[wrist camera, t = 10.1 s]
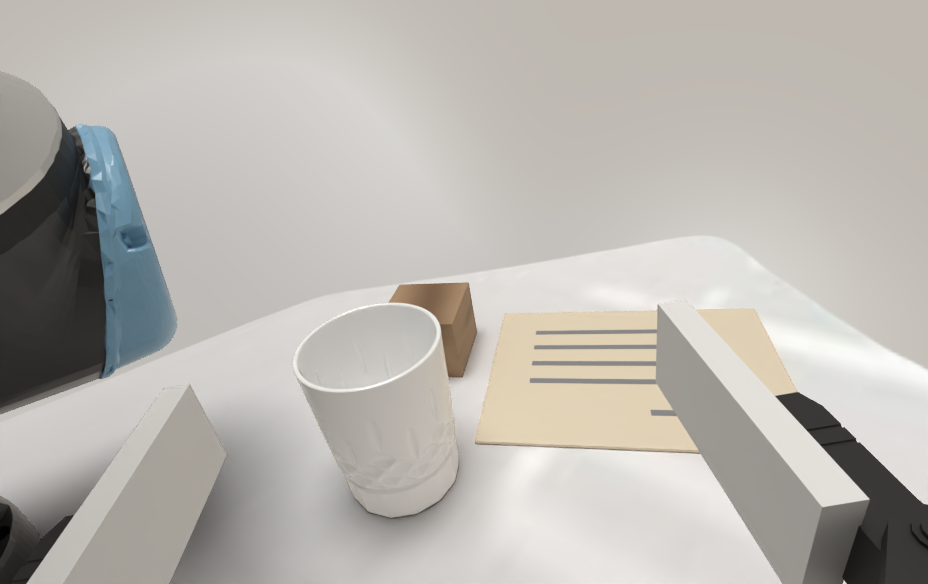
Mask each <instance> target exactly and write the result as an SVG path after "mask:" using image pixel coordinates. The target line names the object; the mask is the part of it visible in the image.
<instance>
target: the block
mask: <svg viewBox="0 0 928 584" xmlns="http://www.w3.org/2000/svg"><path fill="white" fill-rule="evenodd" d="M389 303H406V304H412V305H416V306H419V307H422V308H424V309H426V310H428V311H429V312H431V313H432V314H433V315H434V316H435V317H436V318H437V320H438V322H439V324H440V327H441V333H442V340H443V346H444V353H445V359H446V366H447V372H448V377H463V374H464V371H465V368H466V365H467V361H468V358H469V355H470V352H471V349H472V346H473V343H474V340H475V336H476V333H477V329H476V323H475V318H474V312H473V306H472V300H471V294H470V288H469V283H441V284H410V285H399V287H398V288H397V290H396V291H395V293H394V295H393V296H392V298H391V300H390V301H389Z"/></svg>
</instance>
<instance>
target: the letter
mask: <svg viewBox="0 0 928 584" xmlns="http://www.w3.org/2000/svg"><path fill="white" fill-rule="evenodd" d="M696 311H697V312H698V313H699V314H700V315H701V316H702V317H703V319H704V320H705V321H706V322H707V323H708V324H709V325H710V326H711V327H712V328H713V329H714V330H715V332H716V333H717V334H718V335H719V336H720V337H721V338H722V339H723V340H724V341H725V342H726V344H727V345H728V346H729V347H730V348H731V349H732V350H733V351H734V352H735V353H736V354H737V355H738V357H739V358H740V359H741V360H742V361H743V362H744V363H745V364H746V365H747V366H748V367H749V369H750V370H751V371H752V372H753V373H754V374H755V375H756V376H757V377H758V378H759V379H760V380H761V382H762V383H763V384H764V385H765V386H766V387H767V388H768V389H769V390H770V391H771V392H772V394H773V395H774V396H777V395H783V394H789V393H795V392H797V390H796V388H795V386H794V384H793V382H792V380H791V378H790V376H789V374H788V373H787V371H786V369H785V367H784V365H783V363H782V361H781V359H780V357H779V355H778V353H777V351H776V349H775V347H774V345H773V344H772V342H771V340H770V338H769V336H768V334H767V332H766V330H765V328H764V326H763V324H762V322H761V320H760V318H759V317H758V315H757V313H756V311H755V309H707V310H696ZM656 348H657V311H611V312H562V313H514V314H505V315H504V319H503V323H502V328H501V332H500V336H499V341H498V345H497V349H496V353H495V358H494V362H493V366H492V371H491V375H490V379H489V383H488V388H487V392H486V396H485V401H484V405H483V409H482V414H481V418H480V422H479V426H478V431H477V435H476V439H475V443H477V444H501V445H525V446H548V447H572V448H596V449H620V450H644V451H668V452H692V453H700V452H699V450H698V449H697V447H696V445H695V444H694V442H693V441H692V439H691V438H690V436H689V434H688V433H687V431H686V430H685V428H684V426H683V425H682V423H681V422H680V420H679V418H678V417H677V415H676V414H675V412H674V411H673V409H672V407H671V406H670V404H669V403H668V401H667V399H666V398H665V396H664V395H663V393H662V391H661V390H660V388H659V387H658V385H657V384H656Z"/></svg>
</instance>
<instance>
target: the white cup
mask: <svg viewBox="0 0 928 584" xmlns="http://www.w3.org/2000/svg"><path fill="white" fill-rule="evenodd" d="M292 366H293V371H294V374H295V376H296V378H297V380H298V382H299V384H300V387H301V389H302V391H303V393H304V395H305V397H306V399H307V402H308V404H309V406H310V408H311V410H312V412H313V415H314V417H315V419H316V421H317V423H318V426H319V428H320V430H321V432H322V434H323V436H324V438H325V440H326V442H327V444H328V446H329V448H330V449H331V451H332V454H333V456H334V458H335V461H336V462H337V464H338V466H339V468H340V469H341V471H342V472H343V474H344V475H345V478H346V480H347V482H348V484H349V487H350V489H351V491H352V493H353V495H354V497H355V498H356V499H357V500H358V501H359V503H360V504H361V505H362V506H363V507H364V508H365V509H366V510H367V511H368V512H371V513H374V514H378V515H382V516H386V517H389V518H394V517H400V516H406V515H412V514H417V513H419V512H421V511H423V510H424V509H426V508H428V507H430V506H431V505H433V504H435V503H436V502H438V501H440V500H441V499H442V497H443V496H444V495H445V493H446V492H447V491H448V490H449V488H450V487H451V486H452V484H453V483H454V482H455V479H456V474H457V469H458V464H459V456H458V450H457V444H456V438H455V421H454V414H453V409H452V398H451V391H450V384H449V378H448V372H447V366H446V359H445V353H444V346H443V340H442V333H441V327H440V324H439V322H438V320H437V318H436V317H435V316H434V315H433V314H432V313H431V312H429V311H428V310H426V309H424V308H422V307H419V306H416V305H412V304H406V303H380V304H373V305H368V306H363V307H359V308H356V309H353V310H350V311H347V312H345V313H342V314H340V315H337V316H335V317H333V318H331V319H330V320H328V321H326V322H324V323H323V324H321V325H320V326H318V327H317V328H316V329H314V330H313V331H312V332H311V333H310V334H308V335H307V336H306V337H305V338H304V340H303V341H302V342H301V343H300V345H299V346H298V348H297V349H296V351H295V354H294V357H293V362H292Z"/></svg>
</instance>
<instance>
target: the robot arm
mask: <svg viewBox="0 0 928 584" xmlns="http://www.w3.org/2000/svg"><path fill="white" fill-rule="evenodd" d="M176 328H177V316H176V313H175V309H174V306H173V303H172V300H171V297H170V294H169V291H168V288H167V285H166V282H165V279H164V276H163V274H162V270H161V267H160V264H159V261H158V259H157V255H156V253H155V250H154V247H153V244H152V241H151V238H150V235H149V232H148V229H147V226H146V223H145V220H144V217H143V214H142V211H141V209H140V206H139V203H138V200H137V197H136V194H135V191H134V188H133V185H132V182H131V179H130V176H129V173H128V170H127V167H126V164H125V161H124V158H123V156H122V153H121V150H120V148H119V145H118V142H117V139H116V136H115V134H114V133H113V132H112V131H111V130H110V129H108V128H106V127H102V126H87V125H82V124H80V125H76V126H75V127H73V128H71V129H70V130H67V128H66V127H65V125H64V123H63V122H62V120H61V119H60V117H59V115H58V113H57V111H56V110H55V108H54V107H53V106H52V104H51V103H50V102H49V101H48V99H47V98H46V97H45V96H44V95H43V93H42V92H41V91H40V90H39V89H37V88H36V87H34V86H33V85H31V84H30V83H28V82H26V81H24V80H22V79H20V78H18V77H15V76H13V75H10V74H7V73H4V72H1V71H0V414H3V413H5V412H8V411H11V410H14V409H16V408H19V407H22V406H25V405H27V404H30V403H33V402H36V401H38V400H41V399H44V398H47V397H49V396H52V395H55V394H57V393H60V392H63V391H66V390H69V389H71V388H74V387H77V386H80V385H82V384H85V383H88V382H91V381H93V380H96V379H103V378H106V377H109V376H110V375H112V374H113V373H114V371H115V370H116V369H118V368H121V367H123V366H125V365H128V364H130V363H132V362H135V361H137V360H139V359H141V358H144V357H146V356H148V355H151V354H153V353H155V352H157V351H159V350H161V349H162V348H164V347H165V346H166V345H167V344H168V343H169V342H170V341H171V339H172V338H173V336H174V334H175V332H176ZM656 384H657V385H658V387H659V388H660V390H661V391H662V393H663V395H664V396H665V398H666V399H667V401H668V403H669V404H670V406H671V407H672V409H673V411H674V412H675V414H676V415H677V417H678V418H679V420H680V422H681V423H682V425H683V426H684V428H685V430H686V431H687V433H688V434H689V436H690V438H691V439H692V441H693V442H694V444H695V445H696V447H697V449H698V450H699V452H700V453H701V455H702V457H703V458H704V460H705V461H706V463H707V465H708V466H709V468H710V469H711V471H712V472H713V474H714V476H715V477H716V479H717V480H718V482H719V484H720V485H721V487H722V488H723V490H724V491H725V493H726V495H727V496H728V498H729V499H730V501H731V503H732V504H733V506H734V507H735V509H736V511H737V512H738V514H739V515H740V517H741V518H742V520H743V522H744V523H745V525H746V526H747V528H748V530H749V531H750V533H751V534H752V536H753V538H754V539H755V541H756V542H757V544H758V545H759V547H760V549H761V550H762V552H763V553H764V555H765V557H766V558H767V560H768V561H769V563H770V564H771V566H772V568H773V569H774V571H775V572H776V574H777V576H778V577H779V579H780V580H781V582H782V584H842V583H843V580H845V582H846V583H847V584H928V505H926V504H923V503H922V502H921V501H919V500H918V499H917V498H916V497H915V496H914V495H913V494H912V493H911V492H910V491H909V490H908V489H907V488H906V487H905V486H904V485H903V484H902V483H901V482H900V481H899V480H898V479H897V478H895V477H894V476H893V475H892V474H891V473H890V472H889V471H888V470H887V469H886V468H885V467H884V466H883V465H882V464H881V463H880V462H879V461H878V460H877V459H876V458H875V457H874V456H873V455H872V454H871V453H870V452H869V451H868V450H867V449H866V448H865V447H864V446H863V445H862V444H861V443H860V442H859V443H857V441H856V438H855V437H854V436H853V435H852V434H851V433H850V432H849V431H848V430H847V429H846V428H845V427H844V428H842V427H841V424H840V423H839V422H838V421H837V420H836V419H835V418H834V417H833V416H832V415H831V414H830V413H829V412H828V411H827V410H826V409H825V408H824V407H823V406H822V405H820V404H818V403H816V402H815V401H813V400H811V399H809V398H807V397H806V396H804V395H802V394H800V393H798V392H795V393H789V394H783V395H777V396H774V395H773V394H772V392H771V391H770V390H769V389H768V388H767V387H766V386H765V385H764V384H763V383H762V382H761V380H760V379H759V378H758V377H757V376H756V375H755V374H754V373H753V372H752V371H751V370H750V369H749V367H748V366H747V365H746V364H745V363H744V362H743V361H742V360H741V359H740V358H739V357H738V355H737V354H736V353H735V352H734V351H733V350H732V349H731V348H730V347H729V346H728V345H727V344H726V342H725V341H724V340H723V339H722V338H721V337H720V336H719V335H718V334H717V333H716V332H715V330H714V329H713V328H712V327H711V326H710V325H709V324H708V323H707V322H706V321H705V320H704V319H703V317H702V316H701V315H700V314H699V313H698V312H697V311H696V310H695V309H694V308H693V307H692V305H691V304H690V303H689V302H688V301H687V300H686V299H682V300H676V301H670V302H664V303H658V310H657V348H656ZM226 456H227V454H226V452H225V450H224V448H223V446H222V444H221V442H220V440H219V438H218V437H217V435H216V433H215V431H214V429H213V427H212V425H211V423H210V421H209V420H208V418H207V416H206V414H205V412H204V410H203V408H202V406H201V404H200V403H199V401H198V399H197V397H196V395H195V393H194V391H193V389H192V387H191V386H190V384H187V385H181V386H176V387H170V388H164V389H162V391H161V392H160V393H159V395H158V396H157V398H156V399H155V401H154V402H153V403H152V405H151V406H150V408H149V409H148V411H147V412H146V414H145V415H144V416H143V418H142V419H141V421H140V422H139V424H138V425H137V426H136V428H135V429H134V431H133V432H132V434H131V435H130V436H129V438H128V439H127V441H126V442H125V444H124V445H123V446H122V448H121V449H120V451H119V452H118V454H117V455H116V456H115V458H114V459H113V461H112V462H111V464H110V465H109V466H108V468H107V469H106V471H105V472H104V474H103V475H102V476H101V478H100V479H99V481H98V482H97V484H96V485H95V486H94V488H93V489H92V491H91V492H90V494H89V495H88V496H87V498H86V499H85V501H84V502H83V504H82V505H81V506H80V508H79V509H78V511H77V512H76V514H75V515H73V516H67V517H65V518H64V519H63V520H62V521H61V522H60V523H58V524H57V525H56V526H55V527H54V528H53V529H52V530H51V531H50V532H49V533H48V534H46V535H45V536H44V537H43V538H42V539H41V541H40V538H39V535H38V532H37V531H36V529H35V528H34V526H33V525H32V524H31V523H30V522H29V520H28V519H27V518H26V517H25V516H24V515H23V514H22V513H21V511H20V510H19V509H18V508H17V507H16V506H15V505H14V504H13V503H11V502H10V501H8V500H7V499H5V498H3V497H1V496H0V584H169V583H170V581H171V579H172V577H173V575H174V572H175V570H176V568H177V566H178V563H179V561H180V559H181V557H182V554H183V552H184V550H185V548H186V546H187V543H188V541H189V539H190V537H191V534H192V532H193V530H194V528H195V525H196V523H197V521H198V519H199V517H200V514H201V512H202V510H203V508H204V505H205V503H206V501H207V499H208V496H209V494H210V492H211V490H212V488H213V485H214V483H215V481H216V479H217V476H218V474H219V472H220V470H221V467H222V465H223V463H224V461H225V459H226Z"/></svg>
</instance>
